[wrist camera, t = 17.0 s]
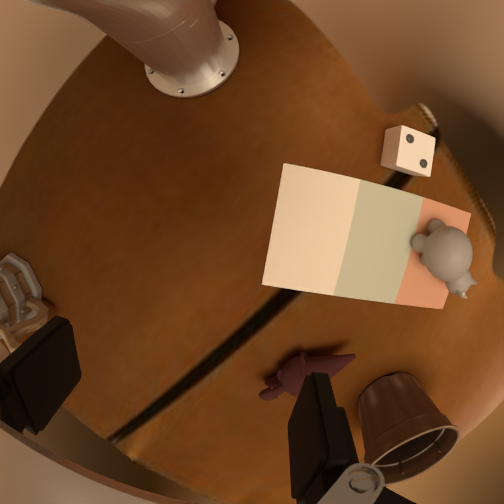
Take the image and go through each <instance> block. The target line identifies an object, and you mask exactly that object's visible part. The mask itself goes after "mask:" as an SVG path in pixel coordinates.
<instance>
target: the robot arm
mask: <svg viewBox="0 0 504 504" xmlns="http://www.w3.org/2000/svg"><path fill="white" fill-rule="evenodd" d="M24 1H26V2H29V3H31V4H34V5H38V6H42V7H46V8H50V9H54V10H58V11H63V12H66V13H70V14H73V15H75V16H77V17H80V18H82V19H84V20H86V21H87V22H89V23H91V24H93V25H94V26H96V27H97V28H99V29H100V30H102V31H103V32H104V33H106V34H107V35H109V36H110V37H111V38H112V39H114V40H115V41H116V42H118V43H119V44H120V45H122V46H123V47H124V48H126V49H127V50H128V51H129V52H131V53H132V54H133V55H135V56H136V57H137V58H138V59H140V60H141V61H142V62H143V63H145V71H146V75H147V77H148V79H149V81H150V82H151V84H152V85H153V86H154V87H155V88H156V89H158V90H159V91H161V92H162V93H164V94H166V95H169V96H172V97H176V98H194V97H198V96H202V95H205V94H207V93H209V92H212V91H213V90H215V89H216V88H218V87H220V86H221V85H222V84H223V83H224V82H225V81H227V79H228V78H229V77H230V76H231V75H232V73H233V71H234V70H235V68H236V66H237V63H238V60H239V52H240V50H239V43H238V40H237V37H236V35H235V33H234V32H233V30H232V29H231V28H230V27H229V26H228V25H226V24H225V23H223V22H222V21H220V20H218V18H217V16H216V13H215V10H214V6H215V5H216V2H217V0H24ZM230 39H232V40H230ZM153 72H154V73H153ZM152 73H153V74H152ZM222 74H225V76H223V77H221V75H222ZM182 91H184V93H183V94H181V92H182ZM80 379H81V370H80V365H79V361H78V356H77V351H76V345H75V340H74V334H73V328H72V325H71V324H70V322H69V320H68V319H65V318H62V317H60V316H54V317H53V318H52V319H51V320H49V321H48V322H47V323H46V324H45V325H43V326H42V327H41V328H40V329H39V330H37V331H36V332H35V333H34V334H33V335H32V336H30V337H29V338H28V339H27V340H26V341H25V342H23V343H22V344H21V345H20V346H19V347H18V348H17V349H16V350H14V351H13V352H12V353H11V354H10V355H9V356H8V357H7V358H6V359H5V360H3V361H2V362H1V363H0V504H196V503H191V502H186V501H182V500H177V499H173V498H169V497H165V496H162V495H158V494H154V493H151V492H148V491H144V490H141V489H138V488H135V487H132V486H129V485H126V484H123V483H120V482H118V481H115V480H112V479H109V478H107V477H104V476H102V475H99V474H97V473H95V472H92V471H90V470H88V469H85V468H83V467H81V466H79V465H77V464H75V463H73V462H71V461H69V460H66V459H65V458H63V457H61V456H59V455H57V454H55V453H53V452H51V451H49V450H48V449H46V448H44V447H42V446H41V445H39V444H37V443H35V442H34V441H32V440H30V439H29V438H27V437H25V436H24V435H23V430H24V428H26V429H27V430H28V431H29V432H31V433H33V434H34V435H37V434H38V432H39V431H42V430H43V429H44V428H45V427H46V425H47V424H48V423H49V421H50V420H51V418H52V417H53V416H54V414H55V413H56V411H57V410H58V409H59V407H60V406H61V405H62V403H63V402H64V401H65V399H66V398H67V397H68V395H69V394H70V393H71V391H72V390H73V389H74V387H75V386H76V385H77V383H78V382H79V381H80ZM288 441H289V458H290V477H291V496H292V498H293V499H296V501H297V504H416V503H414V502H412V501H410V500H408V499H406V498H404V497H402V496H400V495H399V494H397V493H395V492H393V491H391V490H389V489H388V488H386V487H384V484H385V483H384V476H383V474H382V472H381V471H380V470H379V469H378V468H376V467H375V466H373V465H370V464H368V463H359V461H358V457H357V453H356V449H355V445H354V442H353V438H352V434H351V430H350V427H349V423H348V419H347V416H346V412H345V410H344V408H343V407H337V405H336V401H335V398H334V394H333V390H332V386H331V382H330V379H329V375H328V373H323V372H312V373H311V375H306V377H305V379H304V382H303V385H302V387H301V390H300V393H299V396H298V398H297V401H296V404H295V406H294V409H293V411H292V414H291V416H290V419H289V422H288Z"/></svg>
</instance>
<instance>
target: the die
mask: <svg viewBox="0 0 504 504" xmlns="http://www.w3.org/2000/svg"><path fill="white" fill-rule="evenodd" d="M434 146H435V138H434V137H432V136H429V135H427V134H424V133H422V132H419V131H416V130H414V129H411V128H408V127H406V126H403V125H400V126H397V127H393V128H390V129H386V130H385V137H384V144H383V151H382V157H381V164H380V166H384V167H387V168H390V169H394V170H397V171H400V172H403V173H407V174H410V175H416V176H427V177H430V174H431V168H432V161H433V154H434Z"/></svg>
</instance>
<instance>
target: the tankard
mask: <svg viewBox="0 0 504 504" xmlns="http://www.w3.org/2000/svg"><path fill="white" fill-rule="evenodd" d="M48 317H49V308H48V307H47V306H46V305H44V304H43V303H42V288H41V286H40V284H39V282H38V280H37V278H36V276H35V274H34V272H33V270H32V268H31V266H30V264H29V263H28V262H27V261H25V260H23V259H22V258H20V257H18V256H17V255H15V254H14V253H10V254H8V255H7V256H6V257H5V258H4V259H3V260H2V261H1V262H0V339H1V338H2V339H4V341H5V342H6V344H7V346H8V348H9V350H10V352H11V353H12V352H13V351H14V350H16V349H17V348H18V347H19V346H20V345H21V344H19V343H17V341H16V340H17V339H19V338H20V337H22V336H23V335H25V334H26V333H29V332H32V331H34V330H37V329H40V328H41V327H42V326H43V325H45V324H46V323H47V321H48Z"/></svg>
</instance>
